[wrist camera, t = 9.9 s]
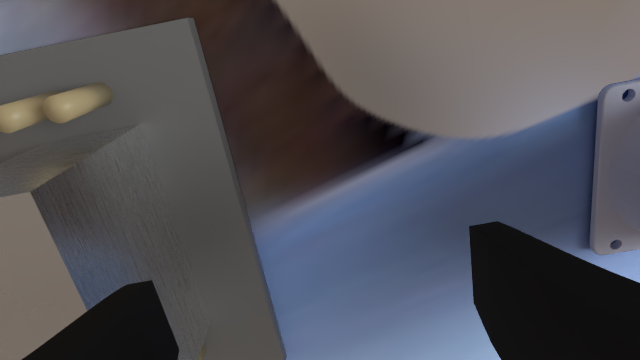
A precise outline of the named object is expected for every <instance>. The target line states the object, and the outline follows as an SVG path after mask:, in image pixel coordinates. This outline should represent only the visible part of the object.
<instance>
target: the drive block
mask: <svg viewBox="0 0 640 360" xmlns="http://www.w3.org/2000/svg"><path fill="white" fill-rule="evenodd" d="M150 280H152V281H153V283H154V286H155V289H156V291H157V294H158V296H159V299H160V301H161V304H162V306H163V309H164V311H165V314H166V317H167V319H168V322H169V324H170V327H171V329H172V332H173V334H174V337H175V339H176V342H177V345H178V347H179V355H178V359H177V360H198V358H199V355H200V352H201V349H202V346H203V343H204V340H205V337H206V334H207V331H208V328H209V325H210V319H209V316H208V313H207V310H206V308H205V305H204V302H203V299H202V296H201V293H200V291H199V288H198V285H197V282H196V279H195V277H194V274H193V271H192V268H191V265H190V262H189V260H188V257H187V254H186V251H185V248H184V245H183V243H182V240H181V237H180V234H179V231H178V228H177V226H176V223H175V220H174V217H173V214H172V211H171V209H170V206H169V203H168V200H167V197H166V195H165V192H164V189H163V186H162V183H161V180H160V178H159V175H158V172H157V169H156V166H155V163H154V161H153V158H152V155H151V152H150V149H149V146H148V144H147V141H146V138H145V135H144V132H143V129H142V127H141V124H138V125H133V126H128V127H123V128H117V129H112V130H107V131H102V132H97V133H92V134H87V135H81V136H76V137H71V138H66V139H61V140H56V141H51V142H46V143H43V144H41V145H39V146H37V147H35V148H33V149H31V150H28V151H26V152H24V153H22V154H20V155H18V156H15V157H13V158H11V159H9V160H7V161H5V162H3V163H0V360H22V359H23V358H24V357H26V356H27V355H29V354H30V353H32V352H33V351H34V350H36V349H37V348H38V347H40V346H41V345H43V344H44V343H45V342H47V341H48V340H49V339H51V338H52V337H53V336H55V335H56V334H57V333H59V332H60V331H61V330H63V329H64V328H65V327H67V326H68V325H69V324H71V323H72V322H73V321H75V320H76V319H77V318H79V317H80V316H81V315H83V314H84V313H85V312H87V311H88V310H89V309H91V308H92V307H93V306H95V305H96V304H98V303H99V302H100V301H102V300H103V299H105V298H106V297H107V296H109V295H110V294H112V293H113V292H115V291H116V290H118V289H120V288H121V287H123V286H125V285H126V284H132V283H138V282H144V281H150Z"/></svg>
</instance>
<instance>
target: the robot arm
mask: <svg viewBox="0 0 640 360" xmlns="http://www.w3.org/2000/svg"><path fill="white" fill-rule="evenodd" d="M627 89H628V92H629V93H628V96H627V97H626V98H625V99H622V95H623V93H624V92H625V91H626V90H627ZM469 231H470V247H471V264H472V281H473V297H474V304H475V306H476V309H477V311H478V313H479V316H480V318H481V320H482V323H483V325H484V327H485V330H486V332H487V334H488V336H489V338H490V341H491V343H492V345H493V346H494V348H495V350H496V352H497V353H498V355H499V357H500V358H501V360H640V283H638V282H635V281H633V280H630V279H628V278H625V277H623V276H620V275H618V274H615V273H613V272H610V271H608V270H605V269H603V268H601V267H598V266H596V265H594V264H591V263H589V262H587V261H584V260H582V259H580V258H578V257H575V256H573V255H571V254H569V253H566V252H564V251H562V250H560V249H558V248H556V247H553V246H551V245H549V244H547V243H545V242H543V241H541V240H538V239H536V238H534V237H532V236H530V235H528V234H526V233H523V232H521V231H519V230H517V229H515V228H512V227H510V226H508V225H505V224H503V223H500V222H491V223H486V224H480V225H474V226H469ZM614 240H616V241H615V243H613V244H612V245H611V243H612V242H613V241H614ZM589 245H590V248H591V249H592V251H594V252H595V253H596V254H598V255H607V254H613V253H619V252H625V251H631V250H637V249H640V79H636V80H630V81H625V82H619V83H614V84H610V85H607V86H606V87H604V88H603V89H602V90H601V92H600V93H599V97H598V108H597V125H596V142H595V159H594V176H593V193H592V210H591V227H590V244H589ZM178 355H179V347H178V345H177V342H176V339H175V337H174V334H173V332H172V329H171V327H170V324H169V322H168V319H167V317H166V314H165V311H164V309H163V306H162V304H161V301H160V299H159V296H158V294H157V291H156V289H155V286H154V283H153V281H152V280H150V281H144V282H138V283H132V284H126V285H125V286H123V287H121V288H120V289H118V290H116V291H115V292H113V293H112V294H110V295H109V296H107V297H106V298H105V299H103V300H102V301H100V302H99V303H98V304H96V305H95V306H93V307H92V308H91V309H89V310H88V311H87V312H85V313H84V314H83V315H81V316H80V317H79V318H77V319H76V320H75V321H73V322H72V323H71V324H69V325H68V326H67V327H65V328H64V329H63V330H61V331H60V332H59V333H57V334H56V335H55V336H53V337H52V338H51V339H49V340H48V341H47V342H45V343H44V344H43V345H41V346H40V347H38V348H37V349H36V350H34V351H33V352H32V353H30V354H29V355H27V356H26V357H24V358H23V359H22V360H177V359H178Z"/></svg>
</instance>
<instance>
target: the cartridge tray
mask: <svg viewBox="0 0 640 360" xmlns="http://www.w3.org/2000/svg"><path fill="white" fill-rule="evenodd" d="M138 124H141V127H142V129H143V132H144V135H145V138H146V141H147V144H148V146H149V149H150V152H151V155H152V158H153V161H154V163H155V166H156V169H157V172H158V175H159V178H160V180H161V183H162V186H163V189H164V192H165V195H166V197H167V200H168V203H169V206H170V209H171V211H172V214H173V217H174V220H175V223H176V226H177V228H178V231H179V234H180V237H181V240H182V243H183V245H184V248H185V251H186V254H187V257H188V260H189V262H190V265H191V268H192V271H193V274H194V277H195V279H196V282H197V285H198V288H199V291H200V293H201V296H202V299H203V302H204V305H205V308H206V310H207V313H208V316H209V319H210V325H209V328H208V331H207V334H206V337H205V340H204V343H203V346H202V349H201V352H200V355H199V358H198V360H286V353H285V349H284V345H283V342H282V338H281V335H280V331H279V327H278V324H277V320H276V316H275V313H274V309H273V305H272V302H271V298H270V295H269V291H268V287H267V284H266V280H265V276H264V273H263V269H262V266H261V262H260V258H259V255H258V251H257V247H256V244H255V240H254V236H253V233H252V229H251V226H250V222H249V218H248V215H247V211H246V207H245V204H244V200H243V196H242V193H241V189H240V186H239V182H238V178H237V175H236V171H235V167H234V164H233V160H232V156H231V153H230V149H229V146H228V142H227V138H226V135H225V131H224V127H223V124H222V120H221V117H220V113H219V109H218V106H217V102H216V98H215V95H214V91H213V87H212V84H211V80H210V77H209V73H208V69H207V66H206V62H205V58H204V55H203V51H202V47H201V44H200V40H199V37H198V33H197V29H196V26H195V22H194V18H184V19H180V20H175V21H170V22H165V23H160V24H155V25H150V26H145V27H140V28H135V29H130V30H125V31H120V32H115V33H110V34H105V35H100V36H95V37H90V38H85V39H80V40H75V41H70V42H65V43H60V44H55V45H50V46H45V47H40V48H35V49H30V50H25V51H20V52H15V53H10V54H5V55H1V56H0V163H3V162H5V161H7V160H9V159H11V158H13V157H15V156H18V155H20V154H22V153H24V152H26V151H28V150H31V149H33V148H35V147H37V146H39V145H41V144H43V143H46V142H51V141H56V140H61V139H66V138H71V137H76V136H81V135H87V134H92V133H97V132H102V131H107V130H112V129H117V128H123V127H128V126H133V125H138Z"/></svg>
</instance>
